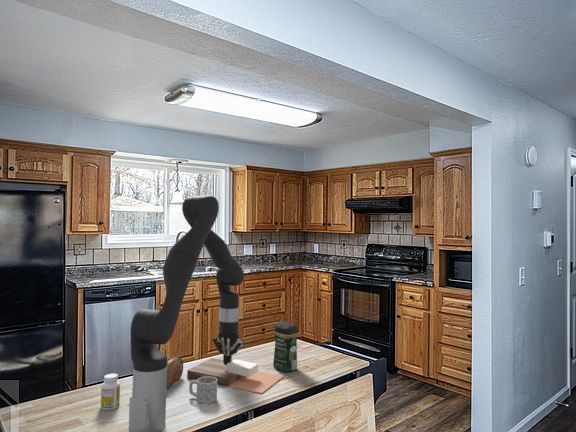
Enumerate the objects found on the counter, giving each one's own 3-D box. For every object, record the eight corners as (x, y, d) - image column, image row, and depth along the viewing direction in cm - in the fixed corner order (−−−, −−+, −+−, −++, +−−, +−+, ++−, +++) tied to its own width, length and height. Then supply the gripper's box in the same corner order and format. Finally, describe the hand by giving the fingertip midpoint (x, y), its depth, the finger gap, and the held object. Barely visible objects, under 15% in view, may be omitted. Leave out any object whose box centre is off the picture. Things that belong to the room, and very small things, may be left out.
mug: (220, 398, 143) (221, 378, 143) (210, 405, 137) (210, 385, 137) (194, 393, 147) (195, 373, 147) (183, 400, 140) (184, 380, 140)
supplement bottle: (113, 401, 138) (114, 371, 138) (122, 406, 135) (123, 375, 135) (97, 406, 134) (98, 375, 134) (106, 412, 131) (107, 380, 131)
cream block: (249, 377, 155) (249, 368, 155) (226, 371, 159) (226, 363, 159) (257, 371, 160) (258, 363, 160) (235, 366, 165) (235, 359, 165)
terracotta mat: (261, 394, 147) (261, 392, 147) (228, 386, 153) (228, 385, 153) (283, 377, 164) (283, 376, 164) (252, 371, 169) (252, 370, 169)
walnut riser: (228, 386, 153) (228, 378, 153) (187, 378, 160) (187, 370, 160) (250, 372, 167) (250, 365, 168) (211, 365, 175) (211, 358, 175)
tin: (164, 392, 147) (165, 367, 147) (156, 391, 148) (156, 366, 148) (183, 376, 162) (184, 354, 162) (176, 375, 162) (176, 353, 162)
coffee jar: (269, 367, 174) (271, 322, 174) (283, 363, 180) (284, 319, 180) (286, 374, 167) (288, 326, 167) (300, 369, 173) (301, 323, 173)
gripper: (208, 319, 162) (207, 364, 162) (238, 323, 157) (237, 370, 157) (219, 315, 169) (218, 359, 169) (248, 319, 164) (247, 364, 163)
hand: (227, 364), depth 163 cm, fingers closed
